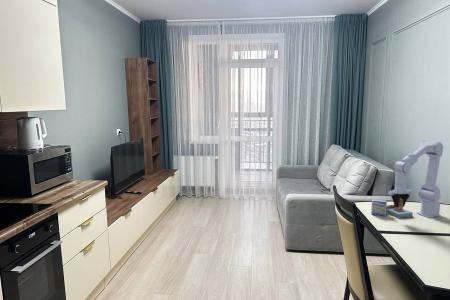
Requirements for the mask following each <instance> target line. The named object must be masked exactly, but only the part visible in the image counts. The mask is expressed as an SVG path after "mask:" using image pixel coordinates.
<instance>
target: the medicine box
mask: <svg viewBox="0 0 450 300" xmlns="http://www.w3.org/2000/svg"><path fill="white" fill-rule="evenodd" d="M387 205H388V203H387V200H383V199H374V198H372V199H371V209H370V210H371V211H370V213H371V215H372V216H379V215H380V216H381V217H382V216H383V217H386V216H387V213H386V207H387ZM380 216H379V217H380Z"/></svg>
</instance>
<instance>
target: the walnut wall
mask: <svg viewBox="0 0 450 300" xmlns="http://www.w3.org/2000/svg"><path fill="white" fill-rule="evenodd" d="M388 208H396V207H394V204H387V207H386V209H388Z"/></svg>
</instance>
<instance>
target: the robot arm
mask: <svg viewBox="0 0 450 300" xmlns="http://www.w3.org/2000/svg"><path fill="white" fill-rule="evenodd" d="M443 152H444V145H443V143H442V142H440V141H431V140H430V141H429V140H422V141H421V142H420V143H419V146H418V147H417V149H416V150H415V151H414V152H413V153H408V154H407V155H406V156H405V157H404V158H402V159H401V160H398V161H396V162H394V165H393V167H392V168H393V170H394V175H395V176H394V177H395V179H394V189H392V190H388V192H387V196H390V197H391V199H392V202H393V205H394V207H397V208H398V206H399V201H400V199H403V208H404V207H405V205H406V203H407V200H408V199H409V198H410V196H411V194H413V189H410V188H409V189H408V188H407V185H408V184H407V183H408V174H409V172H410V171H411V169H412V167H413V166H414V165H415V164H416V163H417V162H418V159H419V158H420V157H421V156H423V155H425V154H426V155H427V157H428V158H429V159H428V164H427V170H426V176H425V181H424V182H425V183H423V184H422V185H420V188H419V190H418V197H419V198H420V200H421V202H420V211H417V212H416V213H417V214H418V215H421V216H424V217H426V218H433V217H434V218H435V217H441V214H440V211H441V210H440V209H441V203H440V201H439V200H440V199H441V189H440V187H438V185H437V180H438V174H439V173H438V172H439V168H440V167H439V166H440V161H441V157H442V155H443Z"/></svg>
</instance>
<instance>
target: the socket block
mask: <svg viewBox="0 0 450 300" xmlns="http://www.w3.org/2000/svg"><path fill="white" fill-rule="evenodd" d="M387 213H388V214H387ZM413 213H414V212H412V211H410V210H407V209H404V208H403V210H402V211H398V210H396V208H388V209H386V214H387V215H389V214H390V216H392V217H394V218H397V219H403V218H412V217H413Z"/></svg>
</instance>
